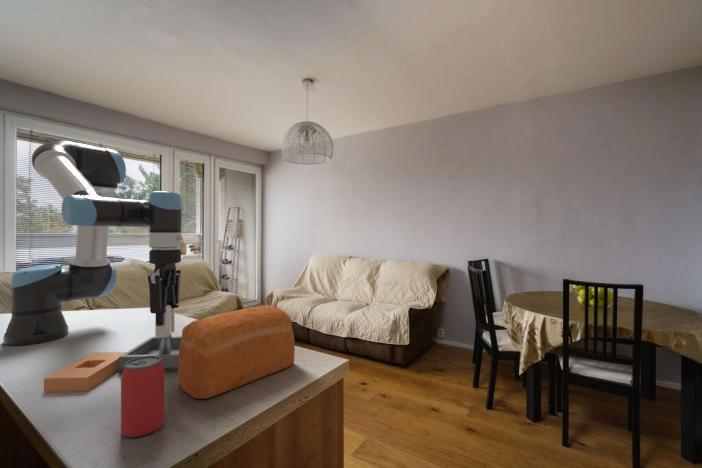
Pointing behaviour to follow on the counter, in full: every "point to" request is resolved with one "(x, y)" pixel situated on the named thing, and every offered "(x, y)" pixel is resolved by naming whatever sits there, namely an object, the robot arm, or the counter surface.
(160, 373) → the beer can
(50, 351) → the counter surface
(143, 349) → the tray
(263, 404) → the counter surface
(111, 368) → the orange block with hole
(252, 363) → the bread
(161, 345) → the pin
